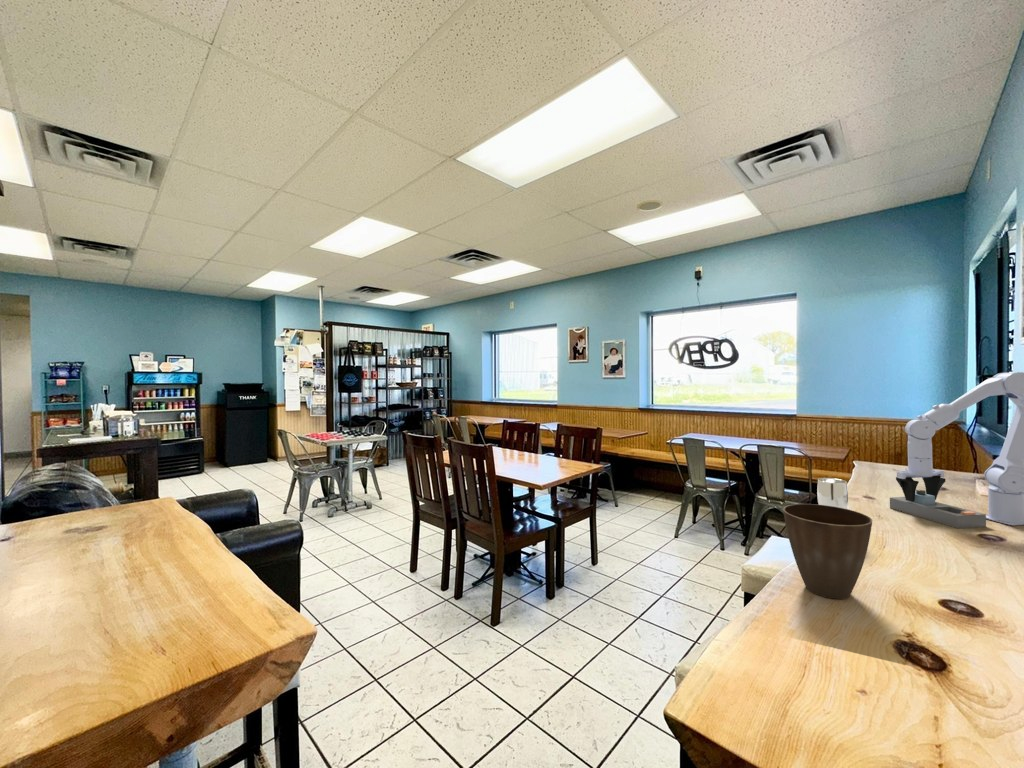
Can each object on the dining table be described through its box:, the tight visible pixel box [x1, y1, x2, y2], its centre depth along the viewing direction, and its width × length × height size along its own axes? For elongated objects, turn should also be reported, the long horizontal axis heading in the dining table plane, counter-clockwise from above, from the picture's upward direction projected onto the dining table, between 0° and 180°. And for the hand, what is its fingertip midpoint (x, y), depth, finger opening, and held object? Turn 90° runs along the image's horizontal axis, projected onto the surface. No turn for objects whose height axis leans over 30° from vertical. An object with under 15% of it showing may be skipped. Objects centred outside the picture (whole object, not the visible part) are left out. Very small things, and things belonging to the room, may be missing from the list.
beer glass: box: [816, 477, 849, 509], centre depth 121 cm, size 7×7×15 cm
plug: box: [907, 489, 936, 505], centre depth 137 cm, size 4×5×7 cm
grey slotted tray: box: [889, 496, 987, 529], centre depth 133 cm, size 9×20×4 cm, turn 6°
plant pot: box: [782, 503, 873, 600], centre depth 89 cm, size 15×15×16 cm
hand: (920, 500), depth 137 cm, fingers open, 7 cm apart
